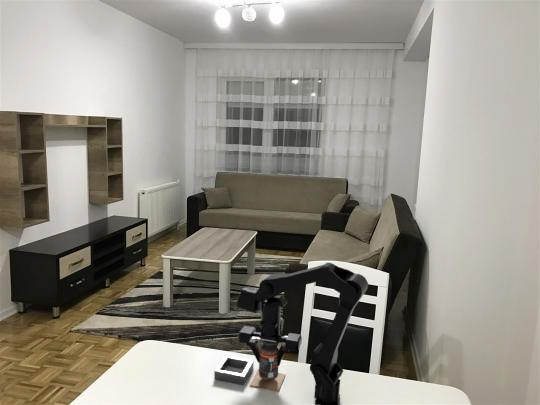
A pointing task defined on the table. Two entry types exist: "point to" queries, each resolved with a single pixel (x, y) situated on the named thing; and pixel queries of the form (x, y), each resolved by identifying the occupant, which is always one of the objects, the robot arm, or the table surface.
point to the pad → (268, 382)
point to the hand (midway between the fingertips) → (268, 363)
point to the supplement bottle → (268, 360)
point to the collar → (232, 376)
